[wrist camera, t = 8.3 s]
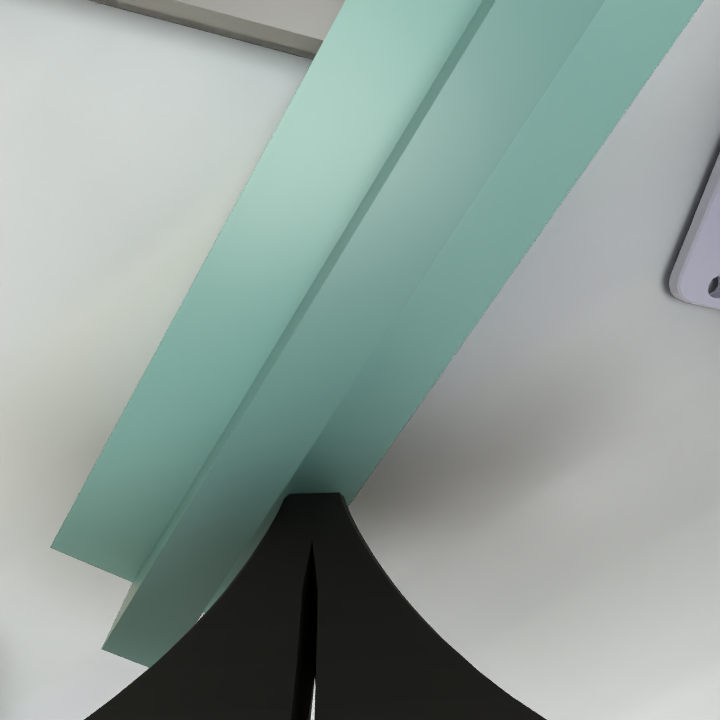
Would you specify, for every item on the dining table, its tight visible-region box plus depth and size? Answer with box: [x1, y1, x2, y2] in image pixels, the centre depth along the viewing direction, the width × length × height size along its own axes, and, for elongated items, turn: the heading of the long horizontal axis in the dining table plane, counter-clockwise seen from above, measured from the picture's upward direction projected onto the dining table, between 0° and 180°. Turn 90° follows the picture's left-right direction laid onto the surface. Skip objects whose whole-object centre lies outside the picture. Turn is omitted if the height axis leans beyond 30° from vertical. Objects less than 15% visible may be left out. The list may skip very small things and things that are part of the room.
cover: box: [50, 0, 704, 668], centre depth 9 cm, size 16×5×2 cm, turn 148°
